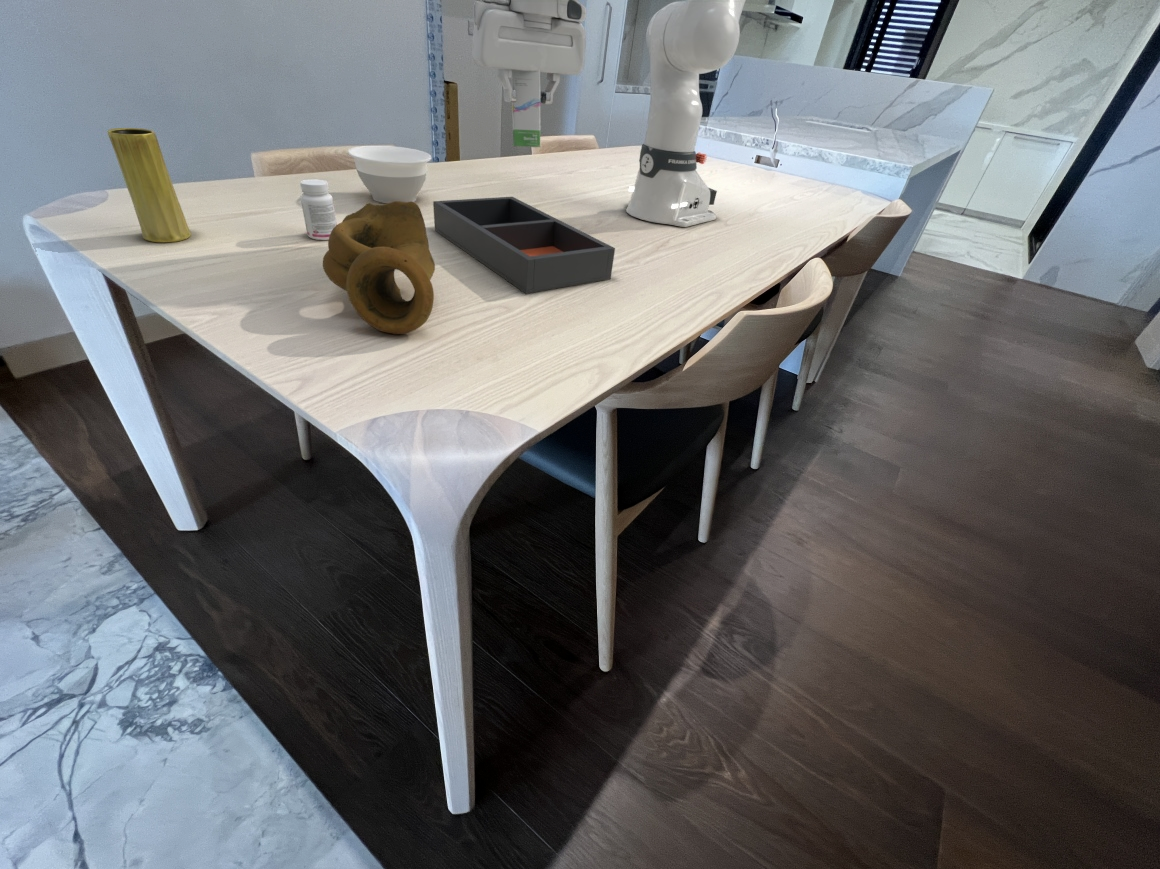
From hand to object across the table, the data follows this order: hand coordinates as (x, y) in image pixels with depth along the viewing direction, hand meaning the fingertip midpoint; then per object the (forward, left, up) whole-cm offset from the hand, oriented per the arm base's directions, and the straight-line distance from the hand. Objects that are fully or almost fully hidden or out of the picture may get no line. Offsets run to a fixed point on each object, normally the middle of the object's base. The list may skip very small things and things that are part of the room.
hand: (528, 102), depth 92 cm
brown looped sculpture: (+36, +22, -21) cm, 47 cm away
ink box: (-1, -1, -7) cm, 7 cm away
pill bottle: (+36, -5, -21) cm, 42 cm away
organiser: (+9, +13, -21) cm, 26 cm away
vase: (+57, -11, -21) cm, 62 cm away
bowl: (+16, -25, -21) cm, 37 cm away
